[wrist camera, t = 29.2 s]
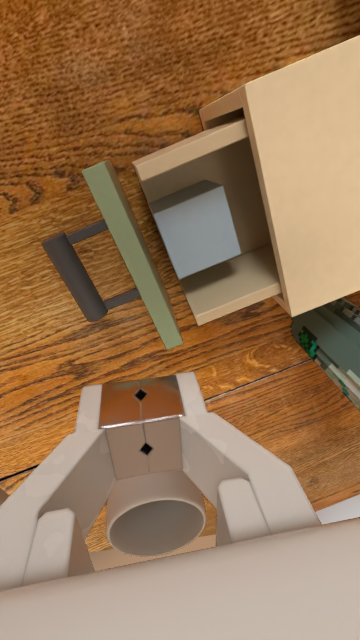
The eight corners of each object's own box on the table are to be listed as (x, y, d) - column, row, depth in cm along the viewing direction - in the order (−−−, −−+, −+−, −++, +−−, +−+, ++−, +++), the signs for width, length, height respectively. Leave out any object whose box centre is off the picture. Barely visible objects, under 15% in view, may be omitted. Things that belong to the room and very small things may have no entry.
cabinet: (242, 268, 28) (292, 317, 20) (198, 110, 22) (244, 84, 14) (395, 206, 28) (514, 228, 19) (395, 26, 22) (568, -55, 13)
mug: (93, 425, 34) (82, 532, 24) (158, 386, 33) (173, 482, 23) (155, 477, 40) (165, 580, 30) (212, 445, 39) (241, 542, 29)
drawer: (107, 321, 27) (102, 376, 21) (33, 191, 22) (-7, 208, 15) (301, 242, 27) (361, 272, 20) (275, 87, 21) (347, 57, 15)
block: (147, 203, 22) (152, 214, 19) (205, 179, 22) (223, 184, 18) (169, 259, 25) (178, 280, 21) (223, 237, 24) (242, 254, 21)
